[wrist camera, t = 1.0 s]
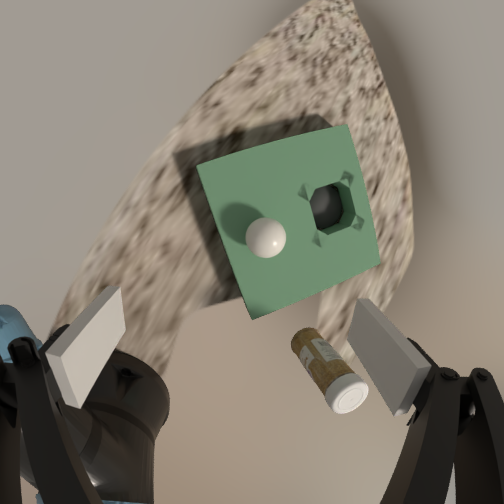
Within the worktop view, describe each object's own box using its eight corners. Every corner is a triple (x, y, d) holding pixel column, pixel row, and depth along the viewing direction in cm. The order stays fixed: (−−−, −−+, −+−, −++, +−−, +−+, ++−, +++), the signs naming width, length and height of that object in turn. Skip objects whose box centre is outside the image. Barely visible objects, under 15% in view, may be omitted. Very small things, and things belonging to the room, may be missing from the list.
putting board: (247, 309, 34) (252, 320, 32) (195, 168, 30) (196, 165, 27) (368, 257, 37) (380, 263, 34) (335, 128, 32) (347, 124, 29)
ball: (249, 258, 30) (257, 268, 26) (237, 223, 29) (244, 228, 25) (283, 245, 30) (296, 253, 27) (272, 210, 29) (284, 213, 26)
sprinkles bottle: (283, 343, 37) (323, 407, 24) (307, 320, 37) (357, 376, 24) (303, 359, 38) (345, 420, 25) (326, 337, 38) (376, 392, 25)
